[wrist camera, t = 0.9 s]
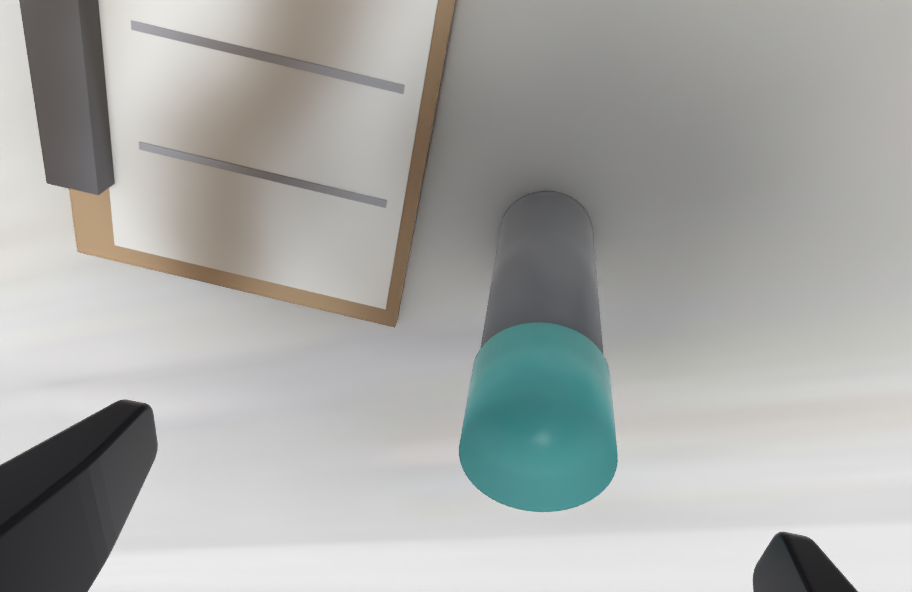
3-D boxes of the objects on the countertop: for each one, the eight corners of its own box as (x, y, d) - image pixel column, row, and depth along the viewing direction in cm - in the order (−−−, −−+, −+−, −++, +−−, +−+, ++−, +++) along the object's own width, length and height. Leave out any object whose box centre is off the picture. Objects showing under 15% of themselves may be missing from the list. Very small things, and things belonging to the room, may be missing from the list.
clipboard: (468, -68, 17) (461, -62, 16) (397, 320, 23) (388, 344, 22) (32, -171, 17) (-7, -173, 16) (84, 246, 23) (59, 266, 22)
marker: (609, 200, 20) (640, 420, 12) (579, 285, 22) (590, 526, 14) (509, 177, 20) (476, 381, 12) (487, 263, 22) (445, 491, 14)
